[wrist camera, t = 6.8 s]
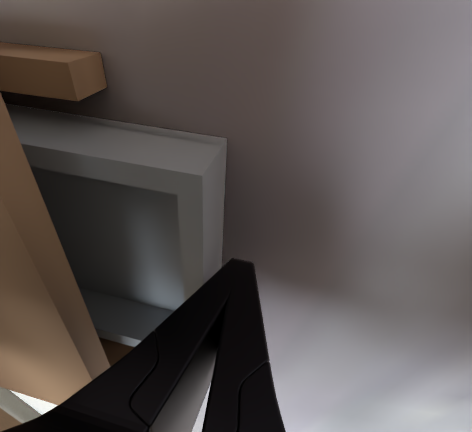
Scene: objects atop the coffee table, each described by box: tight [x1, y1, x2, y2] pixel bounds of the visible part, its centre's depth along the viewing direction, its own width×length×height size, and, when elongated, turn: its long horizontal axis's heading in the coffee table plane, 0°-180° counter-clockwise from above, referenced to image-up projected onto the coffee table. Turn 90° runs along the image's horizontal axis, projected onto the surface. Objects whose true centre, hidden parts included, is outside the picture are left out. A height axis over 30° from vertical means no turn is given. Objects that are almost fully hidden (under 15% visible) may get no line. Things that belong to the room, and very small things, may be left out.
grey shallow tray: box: [5, 104, 227, 347], centre depth 11 cm, size 10×8×2 cm
